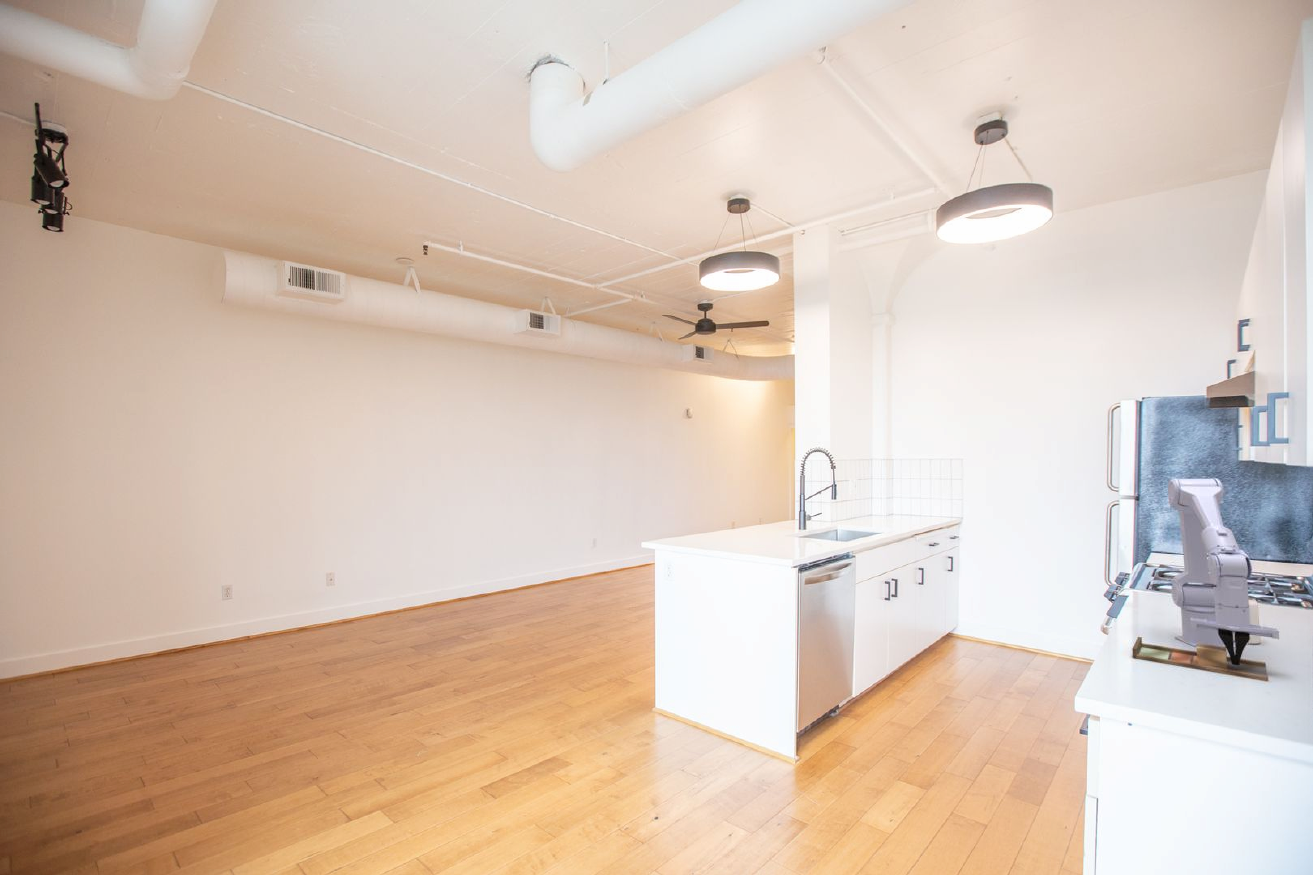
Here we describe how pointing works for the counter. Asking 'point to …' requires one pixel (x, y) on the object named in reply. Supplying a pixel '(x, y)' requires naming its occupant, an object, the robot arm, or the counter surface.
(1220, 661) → the block
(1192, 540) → the robot arm
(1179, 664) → the tray
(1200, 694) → the counter surface
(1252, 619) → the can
